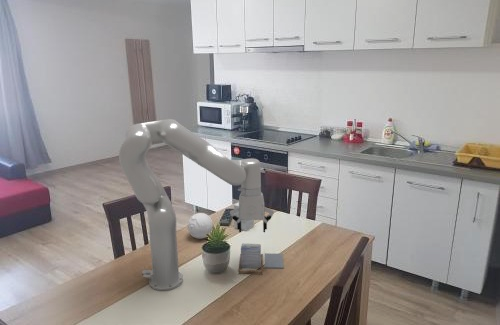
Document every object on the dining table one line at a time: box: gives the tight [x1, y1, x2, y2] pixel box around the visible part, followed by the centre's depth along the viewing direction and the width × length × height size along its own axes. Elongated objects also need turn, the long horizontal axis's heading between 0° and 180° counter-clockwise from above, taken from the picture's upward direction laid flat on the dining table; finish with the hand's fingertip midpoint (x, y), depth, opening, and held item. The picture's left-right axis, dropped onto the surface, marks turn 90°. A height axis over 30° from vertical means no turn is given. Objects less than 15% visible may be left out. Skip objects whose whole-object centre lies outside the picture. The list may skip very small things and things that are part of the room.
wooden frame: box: [237, 253, 264, 276], centre depth 152 cm, size 10×14×2 cm
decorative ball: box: [187, 212, 214, 239], centre depth 175 cm, size 12×12×12 cm
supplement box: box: [233, 201, 255, 232], centre depth 186 cm, size 7×7×13 cm
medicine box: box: [240, 243, 262, 269], centre depth 151 cm, size 8×4×9 cm, turn 84°
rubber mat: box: [264, 252, 285, 270], centre depth 155 cm, size 8×11×1 cm
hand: (252, 230), depth 148 cm, fingers open, 9 cm apart
